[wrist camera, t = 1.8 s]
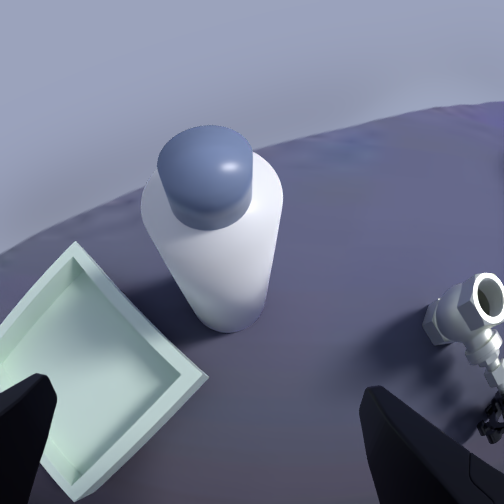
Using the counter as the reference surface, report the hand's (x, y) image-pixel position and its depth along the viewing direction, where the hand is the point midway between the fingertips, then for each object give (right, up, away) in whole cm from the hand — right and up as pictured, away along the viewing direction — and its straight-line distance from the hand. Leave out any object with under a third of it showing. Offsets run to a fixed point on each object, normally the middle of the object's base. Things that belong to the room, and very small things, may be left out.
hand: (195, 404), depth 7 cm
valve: (+18, -5, +13) cm, 23 cm away
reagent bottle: (0, +1, +15) cm, 15 cm away
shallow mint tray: (-10, -5, +12) cm, 16 cm away
